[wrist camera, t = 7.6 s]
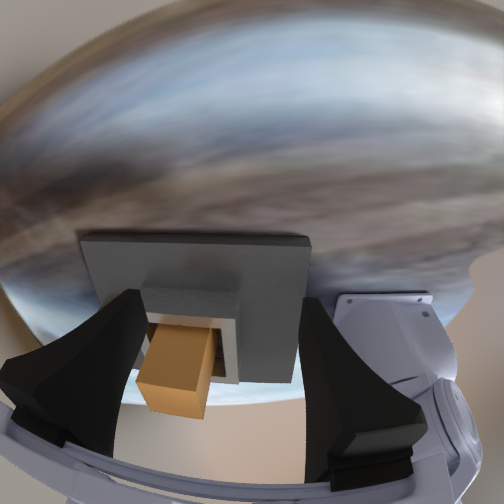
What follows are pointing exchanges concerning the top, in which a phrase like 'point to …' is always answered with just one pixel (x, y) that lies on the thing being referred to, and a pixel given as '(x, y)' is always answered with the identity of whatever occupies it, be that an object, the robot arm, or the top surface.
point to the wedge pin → (178, 370)
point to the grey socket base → (212, 292)
